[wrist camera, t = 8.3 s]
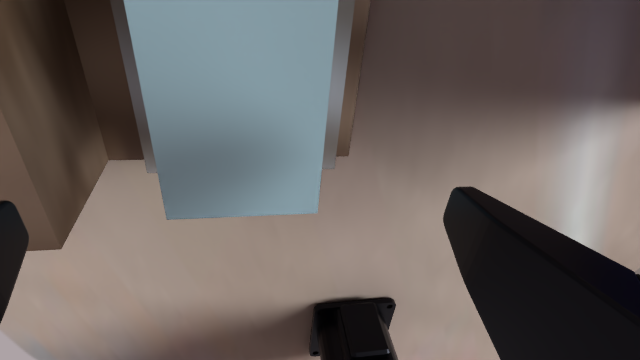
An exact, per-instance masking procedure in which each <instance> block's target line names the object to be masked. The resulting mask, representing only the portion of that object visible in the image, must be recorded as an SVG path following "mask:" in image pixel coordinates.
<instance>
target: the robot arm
mask: <svg viewBox="0 0 640 360" xmlns="http://www.w3.org/2000/svg"><path fill="white" fill-rule="evenodd" d="M443 222H444V226H445V229H446V232H447V235H448V238H449V241H450V244H451V247H452V249H453V252H454V255H455V258H456V261H457V264H458V267H459V270H460V273H461V275H462V278H463V280H464V283H465V285H466V287H467V290H468V292H469V294H470V296H471V298H472V300H473V302H474V304H475V307H476V309H477V311H478V313H479V315H480V317H481V319H482V321H483V324H484V326H485V328H486V330H487V332H488V334H489V336H490V338H491V341H492V343H493V345H494V347H495V349H496V351H497V353H498V355H499V357H500V360H640V275H639V274H635V272H634V271H632V270H630V269H628V268H626V267H624V266H622V265H620V264H619V263H617V262H615V261H613V260H611V259H609V258H607V257H605V256H603V255H601V254H600V253H598V252H596V251H594V250H592V249H590V248H588V247H586V246H584V245H582V244H581V243H579V242H577V241H575V240H573V239H571V238H569V237H567V236H565V235H563V234H561V233H560V232H558V231H556V230H554V229H552V228H550V227H548V226H546V225H544V224H542V223H541V222H539V221H537V220H535V219H533V218H531V217H529V216H527V215H525V214H523V213H522V212H520V211H518V210H516V209H514V208H512V207H510V206H508V205H506V204H504V203H503V202H501V201H499V200H497V199H495V198H493V197H491V196H489V195H487V194H485V193H483V192H482V191H480V190H478V189H476V188H474V187H456V188H454V189H453V190H452V192H451V195H450V198H449V201H448V203H447V206H446V209H445V212H444V217H443ZM28 244H29V234H28V231H27V229H26V227H25V225H24V222H23V220H22V218H21V216H20V214H19V212H18V210H17V208H16V206H15V204H14V203H12V202H11V201H8V200H0V323H1V321H2V318H3V316H4V313H5V311H6V308H7V306H8V303H9V300H10V297H11V294H12V291H13V288H14V285H15V283H16V280H17V277H18V274H19V271H20V268H21V265H22V262H23V259H24V256H25V253H26V250H27V248H28ZM395 307H396V304H395V301H394V300H393V299H391V298H388V299H377V300H365V301H353V302H342V303H330V304H320V305H317V306H315V307H314V311H313V320H312V329H311V337H310V346H309V352H310V355H311V356H320V358H321V360H398V358H397V355H396V352H395V349H394V346H393V343H392V340H391V337H390V334H389V331H388V329H389V326H390V323H391V320H392V317H393V313H394V310H395Z"/></svg>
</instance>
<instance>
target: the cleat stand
mask: <svg viewBox="0 0 640 360" xmlns="http://www.w3.org/2000/svg"><path fill="white" fill-rule="evenodd" d="M370 2H371V0H339V1H338V11H337V21H336V31H335V41H334V51H333V61H332V71H331V81H330V91H329V101H328V111H327V122H326V132H325V142H324V152H323V162H322V169H334V168H335V160H336V156H348V155H349V148H350V141H351V134H352V127H353V120H354V113H355V106H356V99H357V92H358V85H359V78H360V71H361V64H362V58H363V51H364V44H365V37H366V30H367V23H368V16H369V9H370ZM142 159H144V160H145V165H146V169H147V173H158V172H157V167H156V162H155V157H154V152H153V147H152V142H151V137H150V132H149V127H148V121H147V116H146V111H145V106H144V101H143V96H142V91H141V86H140V81H139V76H138V71H137V66H136V61H135V56H134V50H133V45H132V40H131V35H130V30H129V25H128V20H127V15H126V10H125V5H124V0H0V200H8V201H11V202H12V203H14V204H15V206H16V208H17V210H18V212H19V214H20V216H21V218H22V220H23V222H24V225H25V227H26V229H27V231H28V234H29V244H28V248H27V250H26V251H36V250H55V249H61V248H62V247H63V245H64V243H65V241H66V239H67V237H68V235H69V233H70V232H71V230H72V228H73V226H74V224H75V222H76V220H77V218H78V216H79V215H80V213H81V211H82V209H83V207H84V205H85V203H86V201H87V200H88V198H89V196H90V194H91V192H92V190H93V188H94V186H95V185H96V183H97V181H98V179H99V177H100V175H101V173H102V171H103V169H104V168H105V166H106V164H107V162H108V160H142Z"/></svg>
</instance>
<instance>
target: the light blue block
mask: <svg viewBox="0 0 640 360" xmlns="http://www.w3.org/2000/svg"><path fill="white" fill-rule="evenodd" d="M338 1H339V0H124V5H125V10H126V15H127V20H128V25H129V30H130V35H131V40H132V45H133V50H134V56H135V61H136V66H137V71H138V76H139V81H140V86H141V91H142V96H143V101H144V106H145V111H146V116H147V121H148V127H149V132H150V137H151V142H152V147H153V152H154V157H155V162H156V167H157V172H158V177H159V182H160V187H161V192H162V198H163V203H164V208H165V213H166V218H167V220H171V219H194V218H217V217H240V216H263V215H287V214H310V213H317V212H318V202H319V192H320V182H321V172H322V162H323V152H324V142H325V132H326V122H327V111H328V101H329V91H330V81H331V71H332V61H333V51H334V41H335V31H336V21H337V11H338Z"/></svg>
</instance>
